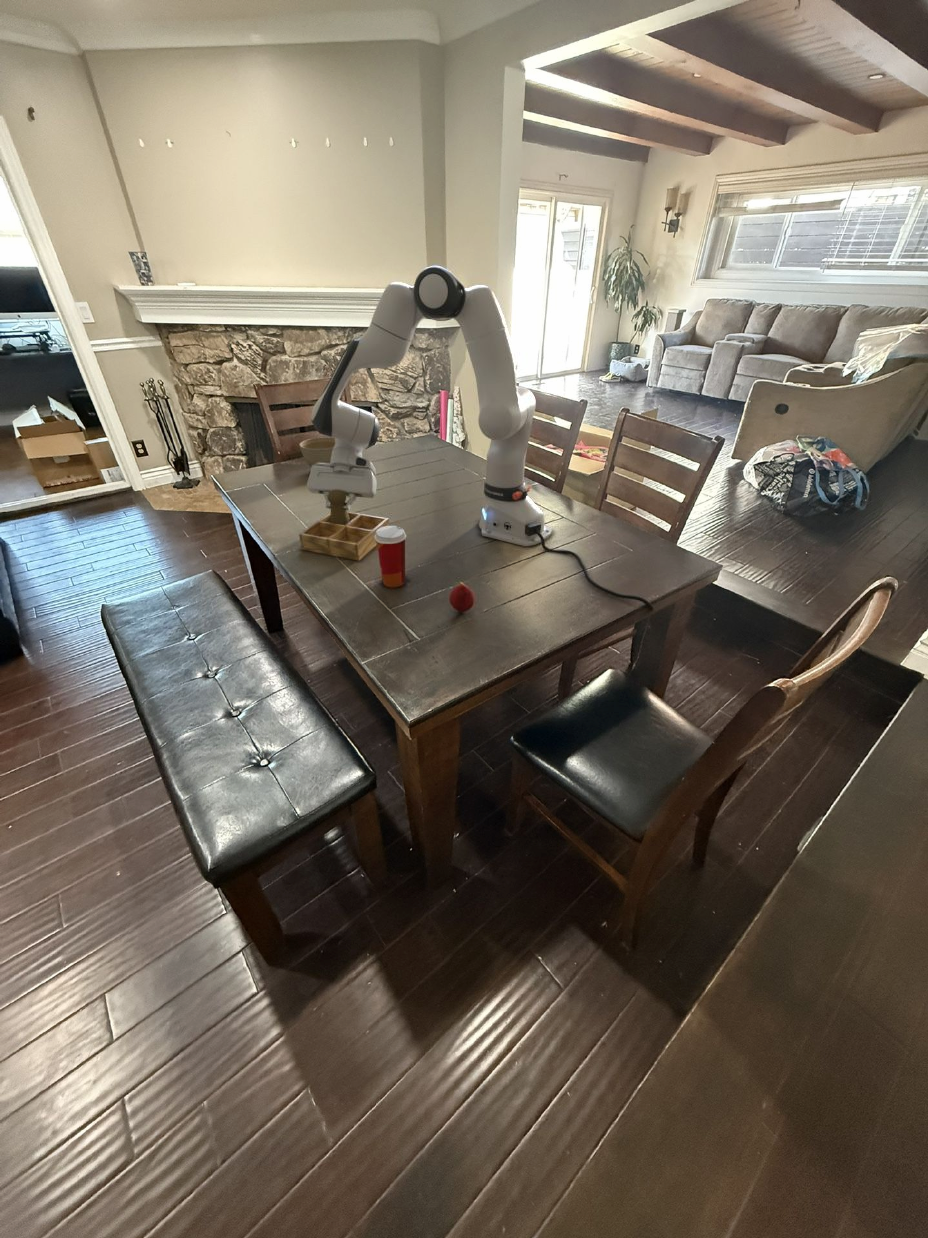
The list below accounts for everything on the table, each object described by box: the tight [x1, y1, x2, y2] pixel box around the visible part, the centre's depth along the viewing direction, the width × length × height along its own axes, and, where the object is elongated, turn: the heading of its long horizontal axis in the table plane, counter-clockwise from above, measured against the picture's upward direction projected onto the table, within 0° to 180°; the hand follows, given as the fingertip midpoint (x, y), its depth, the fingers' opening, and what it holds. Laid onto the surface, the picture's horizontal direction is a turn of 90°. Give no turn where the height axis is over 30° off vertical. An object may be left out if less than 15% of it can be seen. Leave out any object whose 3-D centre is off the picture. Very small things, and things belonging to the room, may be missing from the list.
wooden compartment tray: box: [298, 511, 390, 562], centre depth 148 cm, size 18×18×5 cm
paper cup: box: [374, 525, 407, 588], centre depth 126 cm, size 8×8×14 cm
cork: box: [328, 490, 350, 525], centre depth 149 cm, size 6×6×11 cm
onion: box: [449, 581, 476, 614], centre depth 117 cm, size 6×6×8 cm
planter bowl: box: [299, 436, 335, 468], centre depth 194 cm, size 16×16×11 cm
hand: (337, 508), depth 148 cm, fingers closed on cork, 4 cm apart
